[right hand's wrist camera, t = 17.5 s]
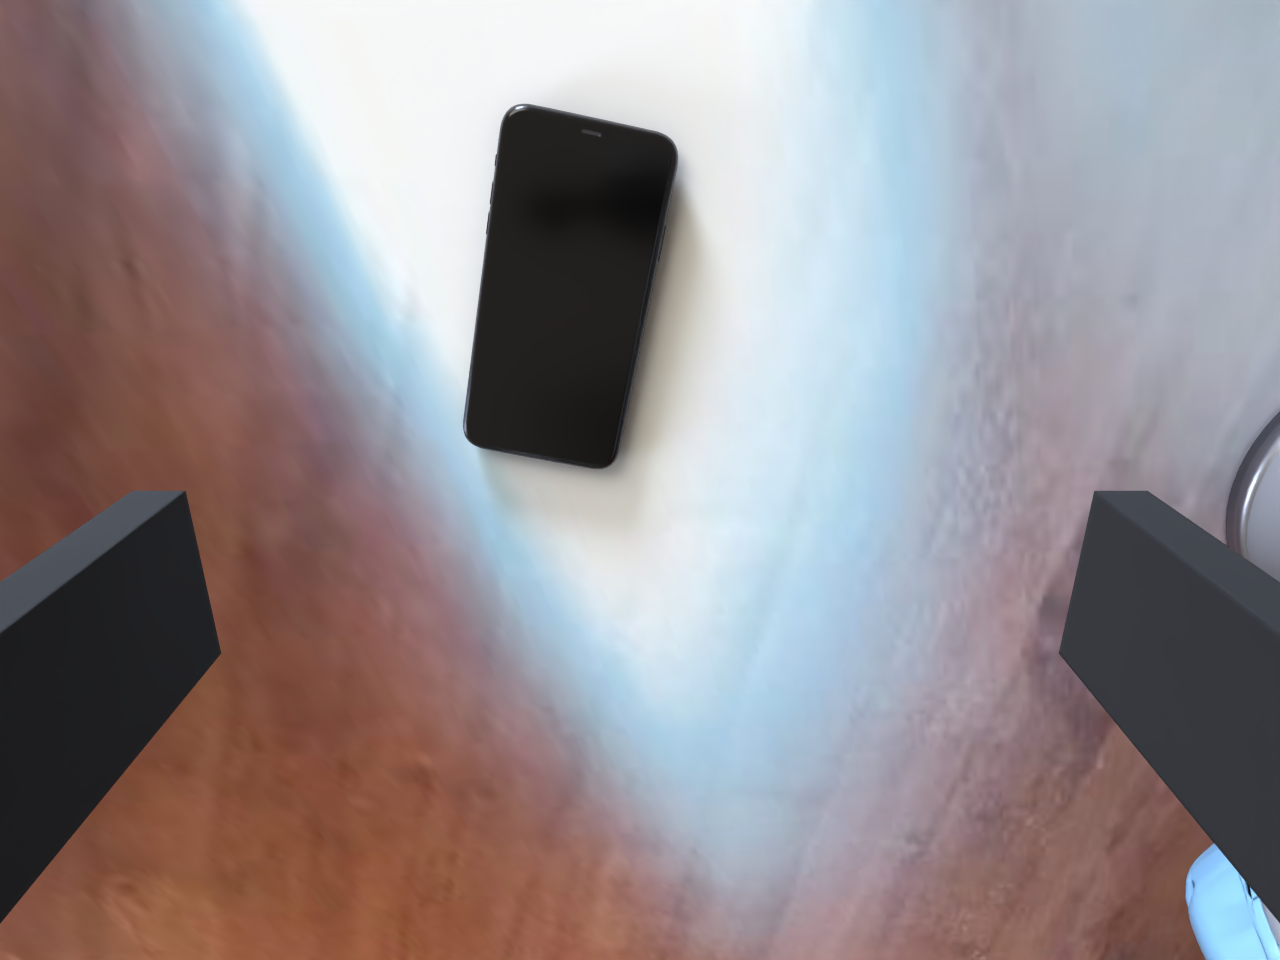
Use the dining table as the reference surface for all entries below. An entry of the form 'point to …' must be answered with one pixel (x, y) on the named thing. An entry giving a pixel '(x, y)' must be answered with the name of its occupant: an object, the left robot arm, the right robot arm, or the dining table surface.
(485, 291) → the smartphone
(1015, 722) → the dining table surface
